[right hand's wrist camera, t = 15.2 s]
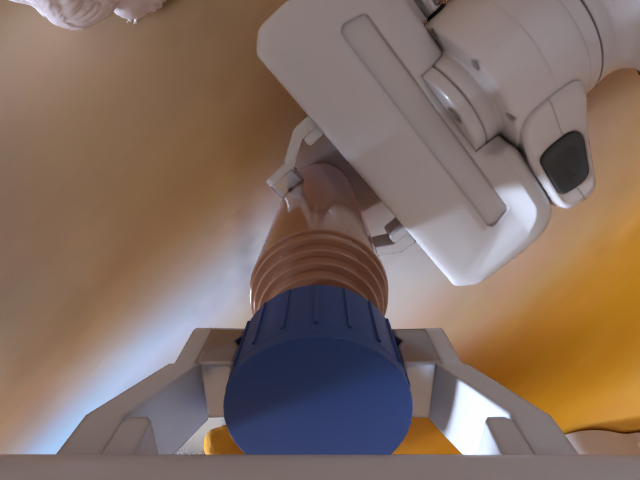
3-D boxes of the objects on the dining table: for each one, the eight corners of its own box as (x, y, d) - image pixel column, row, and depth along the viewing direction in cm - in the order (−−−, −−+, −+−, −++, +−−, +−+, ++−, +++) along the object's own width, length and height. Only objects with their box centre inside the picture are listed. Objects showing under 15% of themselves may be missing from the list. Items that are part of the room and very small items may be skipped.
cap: (250, 409, 11) (232, 483, 9) (234, 283, 10) (208, 335, 7) (390, 407, 11) (407, 481, 9) (399, 280, 10) (423, 331, 7)
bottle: (273, 188, 28) (162, 378, 8) (328, 149, 27) (349, 262, 7) (311, 239, 30) (295, 501, 10) (365, 204, 29) (465, 420, 9)
